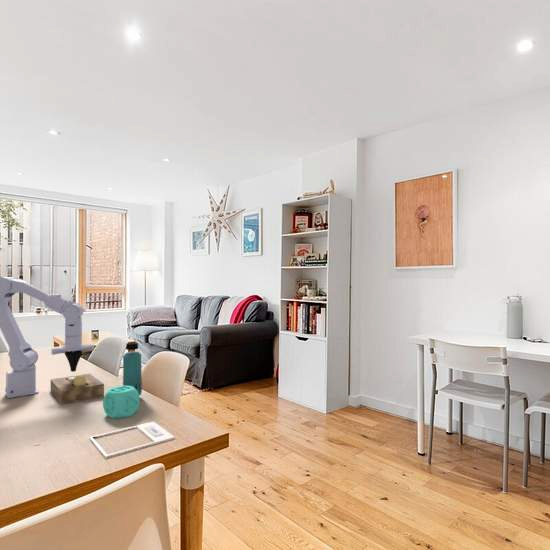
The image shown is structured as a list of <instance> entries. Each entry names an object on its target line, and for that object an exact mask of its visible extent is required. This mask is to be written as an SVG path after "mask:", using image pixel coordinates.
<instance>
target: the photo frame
mask: <svg viewBox="0 0 550 550" xmlns="http://www.w3.org/2000/svg"><path fill="white" fill-rule="evenodd" d="M132 428H135V429H137V428H138V429H139V430H140V431H139V430H138V429H137V430H138V431H139V432H140V433H142V432H143V433H144V434H145V435H146V436H145V435H144V434H143V433H142V434H143V435H144V436H145V437H146V438H148V439H149V438H150V439H151V440H152V441H151V440H150V439H149V440H150V442H148V443H144V444H141V445H138V446H137V445H136V446H134V447H130V448H127V449H123V450H119V451H117V452H112V453H109V454H108V453H106V451H105V450H104V449H103V447H101V445H100V444H99V443H98V442H97V441H96V440H95V438H96V437H99V438H101V437H100V436H103V437H106V436H105V435H107V436H110V435H109V434H111V435H114V434H113V433H115V434H118V433H117V432H119V433H121V432H120V431H123V432H125V431H124V430H127V429H131V430H133V429H132ZM127 431H128V430H127ZM93 437H95V438H93ZM175 439H176V437H175V436H174V435H173V434H172V433H170V432H169V431H168V430H166V429H165V428H163V427H162V426H161V425H159V424H157V423H156V421H150V422H146V423H141V424H138V425H134V426H128V427H125V428H119V429H117V430H112V431H107V432H105V433H104V432H103V433H99V434H96V435H93V436H88V440H89V441H90V440H91V441H92V442H93V443H92V442H91V441H90V442H91V443H92V444H93V446H94V447H95V446H96V447H97V448H98V449H97V448H96V447H95V448H96V449H97V451H100V452H101V453H102V454H103V455H104V456H103V455H102V454H101V453H100V452H99V453H100V454H101V455H102V456H103V458H104V457H105V458H106V457H109V458H111V457H110V456H113V455H116V456H118V455H117V454H120V455H122V454H121V453H123V454H125V453H124V452H127V453H129V452H128V451H130V452H132V451H131V450H134V451H136V450H135V449H137V450H141V449H143V448H142V447H144V448H147V447H146V446H148V447H151V446H154V444H155V445H158V444H162V443H165V442H168V441H172V440H175ZM161 442H162V443H161ZM150 445H151V446H150ZM140 448H141V449H140ZM113 457H114V456H113ZM105 458H104V459H105ZM106 459H107V458H106Z"/></svg>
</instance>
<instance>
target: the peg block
mask: <svg viewBox="0 0 550 550" xmlns="http://www.w3.org/2000/svg"><path fill="white" fill-rule="evenodd" d="M79 376H86V385H85V386H79V387H74V380H73V381H68V378H71V377H79ZM50 392H51V394H52V393H53V394H52V395H53V396H54V398H56V400H57V401H58V402H59V403H60V405H63V404H69V403H74V402H80V401H86V400H90V399H91V400H92V399H95V398H101V396H102V397H104V396H105V383H103V382H102V381H101V380H100V379H98V378H97V377H95V376H94V375H92V373H84V374H78V375H77V374H76V375H71V376H64V377H59V378H51V379H50Z"/></svg>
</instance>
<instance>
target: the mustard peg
mask: <svg viewBox="0 0 550 550" xmlns="http://www.w3.org/2000/svg"><path fill="white" fill-rule="evenodd" d="M85 385H86V376H79V377H75V378H74V387H79V386H85Z"/></svg>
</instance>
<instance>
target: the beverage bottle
mask: <svg viewBox="0 0 550 550" xmlns="http://www.w3.org/2000/svg"><path fill="white" fill-rule="evenodd" d="M125 345H126V346H125V349H126V351H127V352H126V353H124V354H123V356H122V371H123V372H122V386H132V387H134V388H135V389H136V390H137V391H138V394H139V396H141V395H142V392H143V380H142V377H143V376H142V370H143V369H142V368H143V366H142V353H140V352H139V351H137V350H138V349H139V343H138V342H133V341H132V342H128V343H126V344H125ZM128 350H130V351H128ZM131 350H134V351H131ZM135 350H136V351H135Z"/></svg>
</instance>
